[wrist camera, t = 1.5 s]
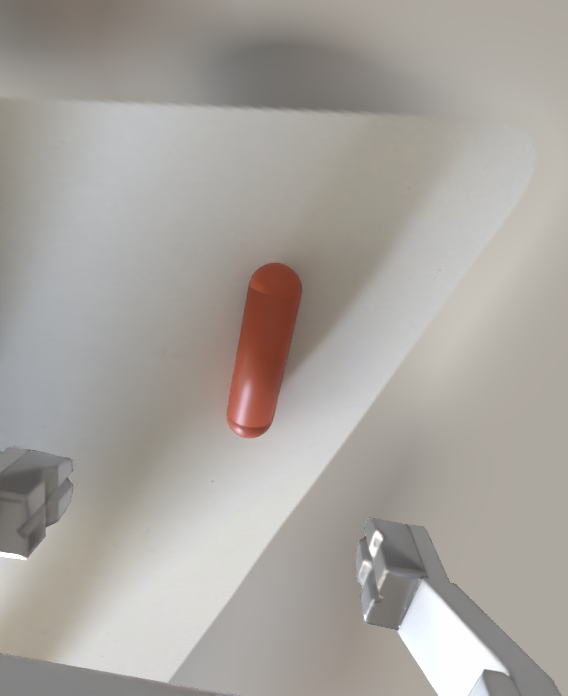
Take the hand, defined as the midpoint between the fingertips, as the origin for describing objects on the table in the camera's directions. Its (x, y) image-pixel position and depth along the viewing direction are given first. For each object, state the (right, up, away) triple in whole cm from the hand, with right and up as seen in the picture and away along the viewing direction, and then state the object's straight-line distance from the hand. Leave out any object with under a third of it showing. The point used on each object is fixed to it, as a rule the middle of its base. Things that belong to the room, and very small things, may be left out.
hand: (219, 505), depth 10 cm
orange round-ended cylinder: (+1, +4, +11) cm, 12 cm away
